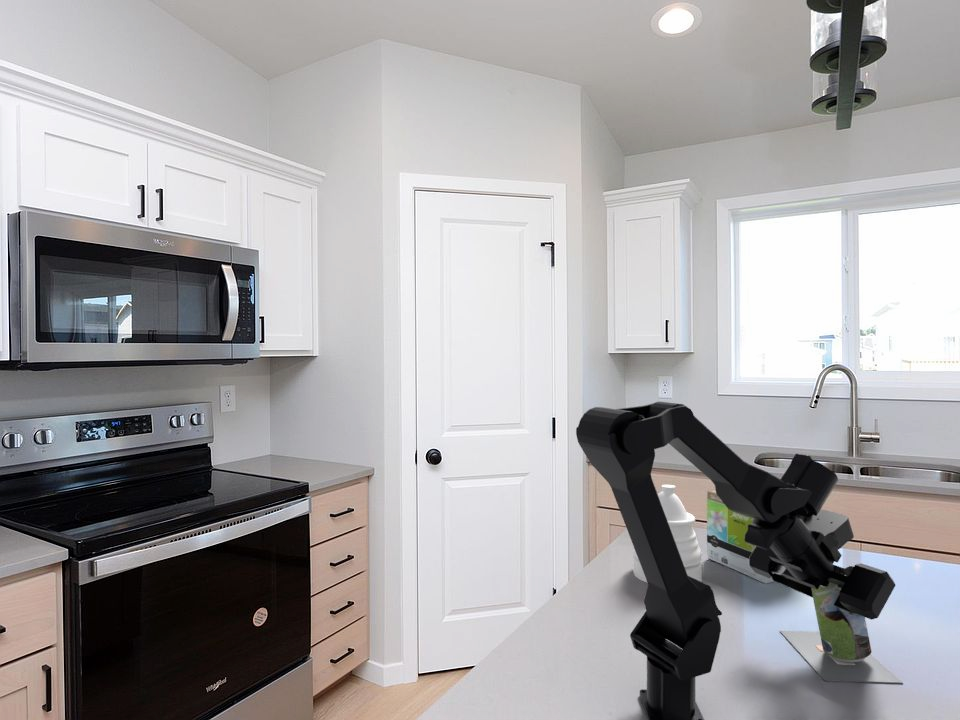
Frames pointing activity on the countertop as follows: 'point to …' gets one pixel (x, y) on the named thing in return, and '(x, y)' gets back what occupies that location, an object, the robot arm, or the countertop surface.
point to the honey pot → (677, 535)
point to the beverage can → (840, 627)
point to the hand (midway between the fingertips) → (841, 606)
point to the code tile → (837, 661)
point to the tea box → (729, 537)
